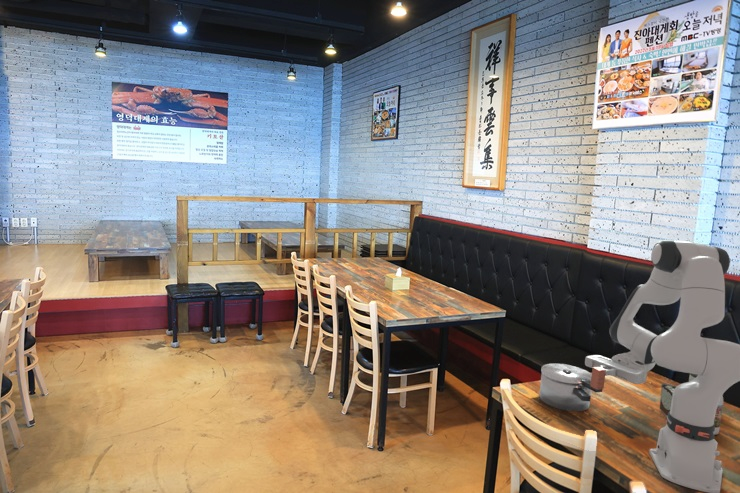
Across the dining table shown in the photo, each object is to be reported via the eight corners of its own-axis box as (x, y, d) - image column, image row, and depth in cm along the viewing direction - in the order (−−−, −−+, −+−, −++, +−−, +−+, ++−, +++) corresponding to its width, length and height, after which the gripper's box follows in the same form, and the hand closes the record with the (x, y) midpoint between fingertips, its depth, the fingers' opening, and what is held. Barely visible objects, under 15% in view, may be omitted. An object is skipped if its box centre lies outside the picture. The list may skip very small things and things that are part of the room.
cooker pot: (530, 388, 197) (533, 364, 196) (573, 390, 198) (576, 366, 197) (558, 419, 171) (562, 392, 170) (608, 421, 172) (612, 394, 171)
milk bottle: (686, 425, 173) (695, 371, 170) (703, 423, 175) (711, 370, 173) (707, 436, 166) (716, 380, 163) (724, 434, 168) (733, 378, 165)
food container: (689, 424, 174) (693, 397, 173) (670, 421, 175) (674, 395, 174) (675, 409, 186) (679, 384, 185) (658, 406, 187) (661, 382, 186)
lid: (530, 368, 192) (533, 347, 190) (568, 364, 198) (570, 345, 197) (578, 395, 168) (581, 372, 167) (619, 390, 175) (622, 368, 174)
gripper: (598, 349, 189) (576, 354, 181) (652, 367, 172) (630, 373, 164) (596, 364, 189) (574, 370, 182) (649, 384, 172) (628, 391, 165)
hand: (601, 372), depth 173 cm, fingers closed
